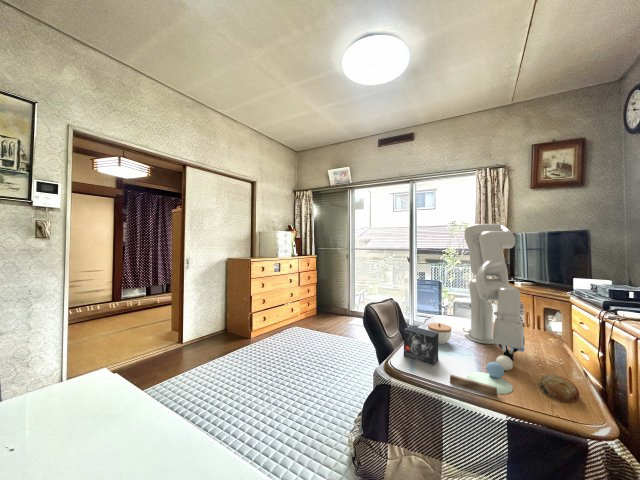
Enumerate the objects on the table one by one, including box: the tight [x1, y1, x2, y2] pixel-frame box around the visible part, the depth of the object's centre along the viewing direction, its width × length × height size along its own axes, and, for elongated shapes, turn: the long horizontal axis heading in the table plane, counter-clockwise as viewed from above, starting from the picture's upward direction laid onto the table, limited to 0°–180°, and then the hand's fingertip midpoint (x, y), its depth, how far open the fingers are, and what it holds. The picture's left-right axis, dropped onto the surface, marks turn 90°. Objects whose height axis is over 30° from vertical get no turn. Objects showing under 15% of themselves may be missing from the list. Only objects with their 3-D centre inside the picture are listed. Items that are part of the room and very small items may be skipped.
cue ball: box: [495, 354, 514, 371], centre depth 104 cm, size 6×6×6 cm
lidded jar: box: [427, 322, 452, 345], centre depth 132 cm, size 11×11×9 cm
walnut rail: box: [449, 374, 498, 397], centre depth 91 cm, size 14×1×2 cm, turn 54°
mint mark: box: [466, 371, 514, 395], centre depth 94 cm, size 14×14×1 cm
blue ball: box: [486, 361, 505, 378], centre depth 98 cm, size 6×6×6 cm
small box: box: [403, 325, 439, 366], centre depth 114 cm, size 13×7×12 cm, turn 46°
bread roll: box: [538, 374, 580, 404], centre depth 88 cm, size 10×10×8 cm
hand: (508, 361), depth 107 cm, fingers closed
